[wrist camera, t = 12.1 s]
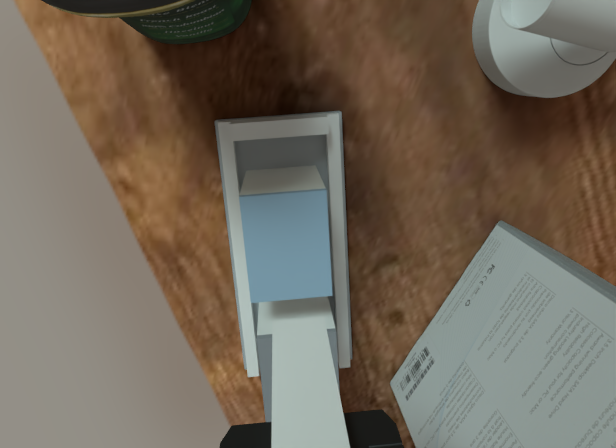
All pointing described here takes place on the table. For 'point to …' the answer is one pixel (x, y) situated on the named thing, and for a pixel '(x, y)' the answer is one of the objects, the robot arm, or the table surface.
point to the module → (286, 234)
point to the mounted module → (285, 312)
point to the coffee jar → (166, 16)
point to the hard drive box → (515, 354)
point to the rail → (279, 154)
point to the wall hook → (544, 44)
